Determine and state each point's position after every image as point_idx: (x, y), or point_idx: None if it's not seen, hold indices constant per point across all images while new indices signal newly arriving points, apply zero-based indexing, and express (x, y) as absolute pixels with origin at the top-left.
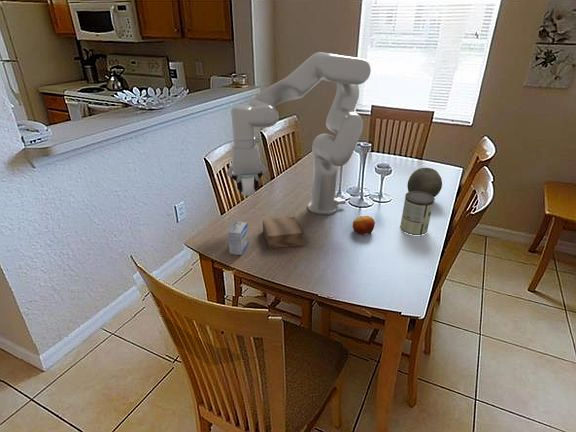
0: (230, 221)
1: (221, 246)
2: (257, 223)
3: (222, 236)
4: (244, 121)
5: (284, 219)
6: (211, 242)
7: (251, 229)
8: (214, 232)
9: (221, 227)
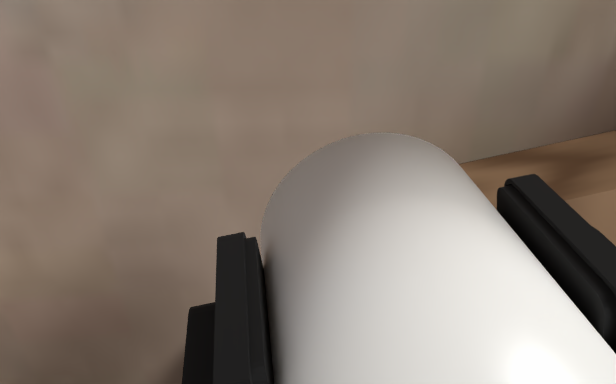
0: (104, 11)
1: (122, 359)
2: (364, 51)
3: (96, 254)
4: None
5: (613, 215)
6: (36, 326)
7: (312, 151)
8: (10, 205)
9: (46, 125)
